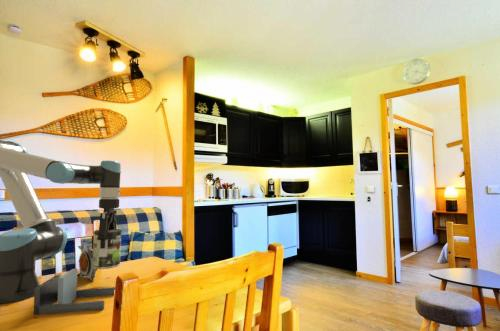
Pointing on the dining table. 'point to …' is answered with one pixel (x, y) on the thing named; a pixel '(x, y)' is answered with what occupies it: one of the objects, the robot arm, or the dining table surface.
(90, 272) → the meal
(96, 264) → the coffee can
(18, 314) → the dining table surface
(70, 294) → the pusher plate
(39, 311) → the lane
